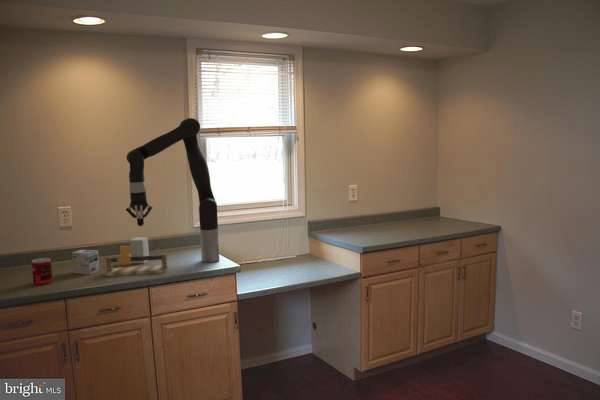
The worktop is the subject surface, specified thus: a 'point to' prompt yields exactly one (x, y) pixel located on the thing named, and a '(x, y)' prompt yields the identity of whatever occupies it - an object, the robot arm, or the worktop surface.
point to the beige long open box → (137, 270)
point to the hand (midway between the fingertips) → (140, 225)
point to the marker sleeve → (125, 255)
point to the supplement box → (139, 248)
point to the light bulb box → (85, 262)
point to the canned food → (42, 271)
